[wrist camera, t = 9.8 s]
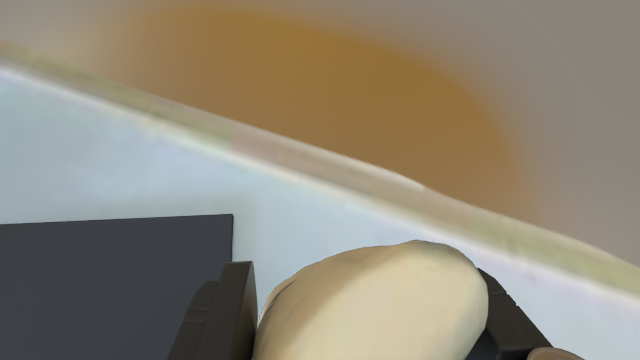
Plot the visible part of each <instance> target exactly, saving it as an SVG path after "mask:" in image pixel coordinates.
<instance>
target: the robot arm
mask: <svg viewBox="0 0 640 360" xmlns="http://www.w3.org/2000/svg"><path fill="white" fill-rule="evenodd" d="M477 269H478V271H479V273H480V274H481V276H482V278H483V279H484V281H485V283H486V284H487V291H488V316H487V321H486V325H485V329H484V330H483V332H482V333H481V335H480V336H479V338H478V339H477V341H476V342H475V344H474V346H473V348H472V349H471V351H470V353H469V354H468V356H467V357H466V359H465V360H584V359H583V358H581V357H579V356H577V355H575V354H573V353H571V352H568V351H565V350H562V349H558V348H554V347H553V346H552V345H551V344H550V342H549V341H548V340H547V339H546V338H545V337H544V335H543V334H542V333H541V332H540V331H539V330H538V328H537V327H536V326H535V325H534V324H533V323H532V321H531V320H530V319H529V318H528V317H527V315H526V314H525V313H524V312H523V311H522V310H521V308H520V307H519V306H516V303H515V301H514V300H513V299H512V298H511V297H510V295H509V294H508V295H507V293H506V291H505V290H504V288H503V287H502V286H501V285H500V284H499V283H498V281H497V280H496V279H495V278H493V277H492V276H490V275H489V274H487V273H486V272H484V271H483V270H481V269H480V268H477ZM257 320H258V307H257V296H256V286H255V275H254V266H253V262H252V261H242V262H226V263H225V265H224V268H223V271H222V275H221V278H220V281H206V282H205V283H204V284H203V285H202V286H201V287H200V288H199V289H198V290H197V291H196V292H195V293H194V295H193V297H192V299H191V302H190V304H189V307H188V311H187V312H186V314H185V316H184V319H183V324H181V326H180V328H179V331H178V333H177V336H176V338H175V341H174V343H173V345H172V348H171V350H170V353H169V355H168V357H167V360H252V359H253V348H254V340H255V334H256V330H257Z"/></svg>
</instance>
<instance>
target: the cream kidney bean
mask: <svg viewBox="0 0 640 360" xmlns="http://www.w3.org/2000/svg"><path fill="white" fill-rule="evenodd" d="M487 316H488V291H487V284H486V283H485V281H484V279H483V278H482V276H481V274H480V273H479V271H478V269H477V268H476V266H475V265H474V264H473V262H472V261H471V260H469V259H468V258H467V257H466V256H465V255H464V254H463V253H462V252H460V251H459V250H458V249H455V248H453V247H451V246H448V245H446V244H441V243H432V242H428V241H421V240H412V241H408V242H405V243H401V244H398V245H395V246H374V247H364V248H359V249H355V250H350V251H346V252H342V253H340V254H337V255H334V256H331V257H329V258H326V259H324V260H322V261H320V262H317V263H314V264H311V265H309V266H306V267H304V268H303V269H301V270H300V271H298V272H297V273H296V274H295V275H293V276H292V277H290V278H289V279H287V280H285V281H284V282H282V283H281V284H279V285H278V286H277V287H276V288H275V289H274V290H273V291H272V293H271V294H270V295H269V296H268V298H267V301H266V303H265V306H264V308H263V310H262V313H261V316H260V319H259V322H258V327H257V330H256V334H255V340H254V348H253V360H465V359H466V357H467V356H468V354H469V353H470V351H471V349H472V348H473V346H474V344H475V342H476V341H477V339H478V338H479V336H480V335H481V333H482V332H483V330H484V329H485V325H486V321H487Z"/></svg>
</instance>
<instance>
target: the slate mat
mask: <svg viewBox="0 0 640 360" xmlns="http://www.w3.org/2000/svg"><path fill="white" fill-rule="evenodd" d="M232 237H233V214H221V215H199V216H177V217H155V218H133V219H111V220H89V221H67V222H44V223H22V224H0V360H167V357H168V355H169V353H170V350H171V348H172V345H173V343H174V341H175V338H176V336H177V333H178V331H179V328H180V326H181V324H183V319H184V316H185V314H186V312H187V311H188V307H189V304H190V302H191V299H192V297H193V295H194V293H195V292H196V291H197V290H198V289H199V288H200V287H201V286H202V285H203V284H204V283H205V282H206V281H220V278H221V275H222V271H223V268H224V265H225V263H226V262H231V259H232Z"/></svg>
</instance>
